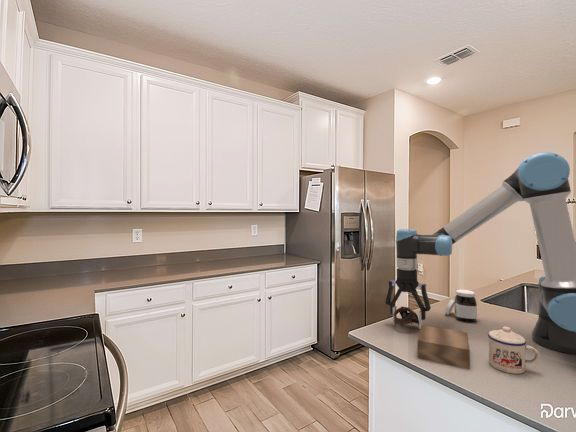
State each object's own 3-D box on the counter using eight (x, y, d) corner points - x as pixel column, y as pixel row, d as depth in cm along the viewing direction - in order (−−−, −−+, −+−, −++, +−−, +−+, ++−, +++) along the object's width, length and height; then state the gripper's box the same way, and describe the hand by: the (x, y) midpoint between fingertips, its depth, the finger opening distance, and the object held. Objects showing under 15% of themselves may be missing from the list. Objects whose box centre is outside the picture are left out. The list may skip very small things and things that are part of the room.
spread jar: (479, 324, 120) (479, 295, 120) (448, 321, 124) (448, 293, 124) (470, 314, 132) (471, 288, 132) (442, 311, 135) (442, 286, 135)
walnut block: (467, 350, 99) (467, 332, 98) (469, 370, 86) (469, 349, 86) (421, 341, 105) (421, 325, 105) (417, 359, 93) (417, 340, 93)
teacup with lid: (488, 369, 86) (489, 329, 86) (486, 356, 94) (487, 319, 94) (542, 381, 80) (542, 338, 80) (535, 366, 88) (535, 327, 87)
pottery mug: (426, 331, 112) (418, 314, 110) (403, 341, 113) (394, 324, 111) (414, 313, 123) (406, 297, 121) (393, 322, 125) (385, 306, 123)
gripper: (376, 267, 120) (377, 322, 120) (435, 272, 107) (436, 334, 107) (382, 264, 126) (383, 317, 126) (439, 269, 113) (439, 327, 113)
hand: (407, 325), depth 117 cm, fingers closed on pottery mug, 9 cm apart
